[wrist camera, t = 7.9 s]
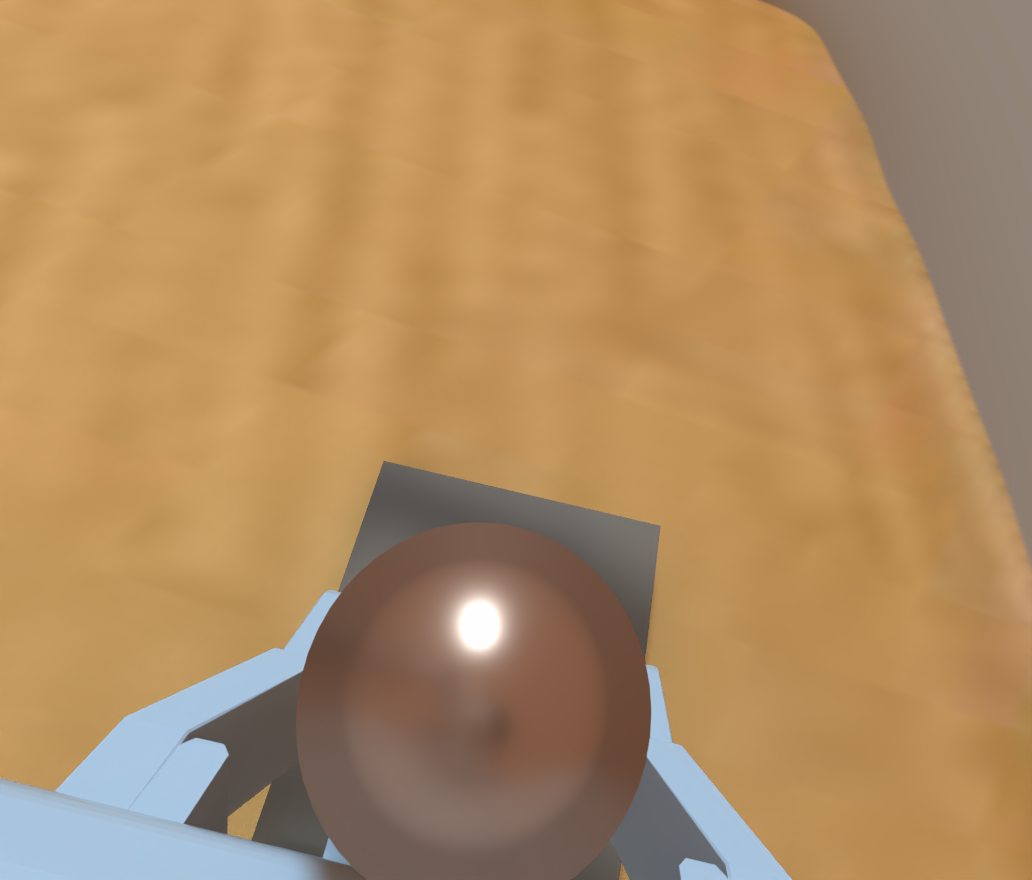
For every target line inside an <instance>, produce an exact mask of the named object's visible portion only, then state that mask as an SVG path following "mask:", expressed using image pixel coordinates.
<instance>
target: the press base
mask: <svg viewBox="0 0 1032 880" xmlns="http://www.w3.org/2000/svg"><path fill="white" fill-rule="evenodd" d="M473 522H481V523H498V524H504V525H510V526H516V527H519V528H522V529H526V530H529V531H532V532H536V533H538V534H540V535H542V536H544V537H547V538H549V539H551V540H553V541H555V542H557V543H558V544H560V545H562V546H563V547H565V548H567V549H568V550H570V551H572V552H573V553H574V554H575V555H577V556H578V557H579V558H580V559H582V560H583V561H584V562H585V563H587V564H588V565H589V566H590V567H591V568H592V569H593V570H594V571H595V572H596V573H597V574H598V575H599V576H600V577H601V578H602V579H603V580H604V581H605V583H606V584H607V585H608V587H609V588H610V589H611V591H612V592H613V593H614V594H615V596H616V597H617V598H618V600H619V602H620V604H621V605H622V607H623V609H624V610H625V612H626V614H627V615H628V617H629V619H630V621H631V624H632V626H633V628H634V630H635V633H636V635H637V637H638V640H639V643H640V646H641V649H642V653H643V656H644V659H645V653H646V644H647V636H648V627H649V619H650V610H651V602H652V593H653V585H654V576H655V568H656V559H657V551H658V542H659V534H660V526H658V525H654V524H650V523H646V522H641V521H637V520H633V519H629V518H624V517H620V516H616V515H612V514H607V513H603V512H599V511H595V510H590V509H586V508H582V507H577V506H573V505H569V504H565V503H560V502H556V501H552V500H548V499H543V498H539V497H535V496H531V495H526V494H522V493H518V492H514V491H509V490H505V489H501V488H496V487H492V486H488V485H484V484H479V483H475V482H471V481H467V480H462V479H458V478H454V477H450V476H445V475H441V474H437V473H433V472H428V471H424V470H420V469H415V468H411V467H407V466H403V465H398V464H394V463H390V462H386V461H384V462H383V465H382V468H381V470H380V473H379V476H378V479H377V482H376V485H375V488H374V491H373V493H372V496H371V499H370V502H369V505H368V508H367V511H366V513H365V516H364V519H363V522H362V525H361V528H360V531H359V534H358V536H357V539H356V542H355V545H354V548H353V551H352V554H351V557H350V559H349V562H348V565H347V568H346V571H345V574H344V577H343V579H342V582H341V585H340V588H339V591H338V592H342V591H343V589H344V588H345V587H346V586H347V585H348V584H349V583H350V582H351V581H352V580H353V579H354V577H355V576H356V575H357V574H358V573H359V572H360V571H361V570H362V569H364V568H365V567H366V566H367V565H368V564H370V563H371V562H372V561H373V560H374V559H375V558H377V557H378V556H380V555H381V554H383V553H384V552H386V551H387V550H389V549H390V548H392V547H393V546H395V545H397V544H399V543H401V542H403V541H405V540H407V539H409V538H411V537H413V536H415V535H417V534H420V533H423V532H426V531H429V530H432V529H435V528H439V527H444V526H448V525H453V524H461V523H473ZM328 838H329V837H328V836H327V834H326V833H325V831H324V829H323V827H322V825H321V823H320V822H319V820H318V818H317V816H316V814H315V812H314V810H313V808H312V805H311V802H310V799H309V797H308V794H307V791H306V788H305V785H304V782H303V778H302V773H301V768H300V763H299V761H298V762H297V763H296V764H294V765H293V766H292V767H291V768H289V769H288V770H287V771H285V772H284V773H283V774H282V775H280V776H279V777H278V778H277V779H275V780H274V781H273V782H272V783H271V786H270V789H269V792H268V795H267V797H266V800H265V803H264V806H263V809H262V812H261V815H260V818H259V820H258V823H257V826H256V829H255V832H254V835H253V838H252V841H255V842H259V843H263V844H267V845H268V844H272V845H276V846H279V847H283V848H287V849H291V850H295V851H299V852H303V853H307V854H311V855H314V856H318V857H322V858H323V855H324V851H325V848H326V845H327V841H328ZM620 866H621V860H620V858H619V856H618V854H617V852H616V850H615V848H614V846H613V844H612V842H611V840H609V842H608V843H607V844H606V845H605V847H604V848H603V849H602V851H601V852H600V853H599V854H598V856H597V857H596V858H595V859H594V860H592V861H591V862H590V863H589V864H588V865H587V866H586V867H585V868H584V869H583V870H582V871H581V872H580V873H579V874H578V875H577V876H575V877H574V878H572V879H571V880H619V874H620Z"/></svg>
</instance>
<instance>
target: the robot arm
mask: <svg viewBox="0 0 1032 880" xmlns="http://www.w3.org/2000/svg"><path fill="white" fill-rule="evenodd" d="M340 594H341V592H338V591H334V590H330V589H329V590H328V591H326V592H325V593H323V594H322V596H321V597H320V599H319V600H318V601H317V603H316V604H315V606H314V607H313V608H312V610H311V611H310V613H309V614H308V615H307V617H306V618H305V620H304V621H303V622H302V624H301V625H300V626H299V628H298V629H297V631H296V632H295V633H294V635H293V636H292V638H291V639H290V640H289V642H288V643H287V645H286V646H285V647H284V649H283V650H282V649H278V648H273V649H271V650H269V651H267V652H265V653H262V654H260V655H258V656H256V657H254V658H252V659H249V660H247V661H245V662H243V663H241V664H239V665H236V666H234V667H232V668H230V669H228V670H226V671H223V672H221V673H219V674H217V675H215V676H213V677H210V678H208V679H206V680H204V681H202V682H200V683H197V684H195V685H193V686H191V687H189V688H187V689H184V690H182V691H180V692H178V693H176V694H174V695H171V696H169V697H167V698H165V699H163V700H161V701H158V702H156V703H154V704H152V705H150V706H148V707H145V708H143V709H141V710H139V711H137V712H135V713H132V714H130V715H128V716H126V717H125V718H124V719H123V720H122V721H121V722H120V723H119V724H118V725H117V726H116V727H115V728H114V729H113V730H112V731H111V732H110V733H109V734H108V736H107V737H106V738H105V739H104V740H103V741H102V742H101V743H100V744H99V745H98V746H97V747H96V748H95V749H94V750H93V751H92V752H91V753H90V755H89V756H88V757H87V758H86V759H85V760H84V761H83V762H82V763H81V764H80V765H79V766H78V767H77V768H76V769H75V770H74V771H73V772H72V774H71V775H70V776H69V777H68V778H67V779H66V780H65V781H64V782H63V783H62V784H61V785H60V786H59V787H58V788H57V789H56V790H55V791H51V790H47V789H43V788H39V787H35V786H31V785H27V784H23V783H19V782H15V781H11V780H7V779H3V778H0V880H367V879H366V878H365V877H363V876H362V875H361V874H359V873H358V872H357V871H356V870H355V869H354V868H353V867H352V866H351V865H347V864H343V863H339V862H335V861H331V860H327V859H323V858H319V857H315V856H311V855H307V854H303V853H299V852H295V851H291V850H287V849H283V848H279V847H275V846H271V845H267V844H263V843H259V842H255V841H251V840H247V839H243V838H239V837H235V836H231V835H227V817H228V816H229V815H230V814H232V813H233V812H234V811H236V810H237V809H238V808H239V807H241V806H242V805H243V804H245V803H246V802H247V801H248V800H250V799H251V798H252V797H253V796H255V795H256V794H257V793H259V792H260V791H261V790H262V789H264V788H265V787H266V786H268V785H269V784H270V783H271V782H273V781H274V780H275V779H277V778H278V777H279V776H280V775H282V774H283V773H284V772H285V771H287V770H288V769H289V768H291V767H292V766H293V765H294V764H296V763H297V762H298V761H299V758H298V751H297V738H296V712H297V699H298V693H299V687H300V681H301V675H302V672H303V669H304V665H305V662H306V658H307V655H308V652H309V649H310V647H311V644H312V642H313V640H314V637H315V635H316V633H317V630H318V628H319V626H320V625H321V623H322V621H323V619H324V618H325V616H326V614H327V612H328V611H329V609H330V607H331V606H332V604H333V603H334V602H335V600H336V599H337V598H338V596H339V595H340ZM646 668H647V674H648V679H649V684H650V697H651V730H650V740H649V746H648V752H647V758H646V763H645V766H644V770H643V773H642V777H641V780H640V783H639V787H638V789H637V791H636V794H635V796H634V798H633V801H632V803H631V805H630V808H629V810H628V812H627V814H626V815H625V817H624V819H623V820H622V822H621V824H620V825H619V827H618V829H617V831H616V832H615V834H614V835H613V837H612V838H611V839H610V840H611V842H612V844H613V846H614V848H615V850H616V852H617V854H618V856H619V858H620V860H621V862H622V864H623V866H624V868H625V870H626V873H627V875H628V877H629V879H630V880H792V879H791V878H790V877H789V875H788V874H787V873H786V872H785V870H784V869H783V868H782V867H781V866H780V864H779V863H778V862H777V861H776V860H775V858H774V857H773V856H772V855H771V854H770V852H769V851H768V850H767V849H766V847H765V846H764V845H763V844H762V843H761V841H760V840H759V839H758V838H757V837H756V835H755V834H754V833H753V832H752V830H751V829H750V828H749V827H748V826H747V824H746V823H745V822H744V821H743V820H742V818H741V817H740V816H739V815H738V813H737V812H736V811H735V810H734V809H733V807H732V806H731V805H730V804H729V803H728V801H727V800H726V799H725V798H724V796H723V795H722V794H721V793H720V792H719V790H718V789H717V788H716V787H715V786H714V784H713V783H712V782H711V781H710V779H709V778H708V777H707V776H706V775H705V773H704V772H703V771H702V770H701V769H700V767H699V766H698V765H697V764H696V762H695V761H694V760H693V759H692V758H691V756H690V755H689V754H688V753H687V752H686V750H685V749H684V748H683V747H682V746H681V745H678V744H674V743H673V741H672V736H671V731H670V726H669V721H668V715H667V710H666V705H665V700H664V695H663V690H662V685H661V680H660V674H659V670H658V669H657V668H656V666H652V665H647V664H646Z"/></svg>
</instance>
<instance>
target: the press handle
mask: <svg viewBox="0 0 1032 880" xmlns="http://www.w3.org/2000/svg"><path fill="white" fill-rule="evenodd" d="M650 730H651V697H650V684H649V679H648V674H647V668H646V663H645V659H644V656H643V653H642V649H641V646H640V643H639V640H638V637H637V635H636V633H635V630H634V628H633V626H632V624H631V621H630V619H629V617H628V615H627V614H626V612H625V610H624V609H623V607H622V605H621V604H620V602H619V600H618V598H617V597H616V596H615V594H614V593H613V592H612V591H611V589H610V588H609V587H608V585H607V584H606V583H605V581H604V580H603V579H602V578H601V577H600V576H599V575H598V574H597V573H596V572H595V571H594V570H593V569H592V568H591V567H590V566H589V565H588V564H587V563H585V562H584V561H583V560H582V559H580V558H579V557H578V556H577V555H575V554H574V553H573V552H572V551H570V550H568V549H567V548H565V547H563V546H562V545H560V544H558V543H557V542H555V541H553V540H551V539H549V538H547V537H544V536H542V535H540V534H538V533H536V532H532V531H529V530H526V529H522V528H519V527H516V526H510V525H504V524H498V523H481V522H473V523H461V524H453V525H448V526H444V527H439V528H435V529H432V530H429V531H426V532H423V533H420V534H417V535H415V536H413V537H411V538H409V539H407V540H405V541H403V542H401V543H399V544H397V545H395V546H393V547H392V548H390V549H389V550H387V551H386V552H384V553H383V554H381V555H380V556H378V557H377V558H375V559H374V560H373V561H372V562H371V563H370V564H368V565H367V566H366V567H365V568H364V569H362V570H361V571H360V572H359V573H358V574H357V575H356V576H355V577H354V579H353V580H352V581H351V582H350V583H349V584H348V585H347V586H346V587H345V588H344V589H343V591H342V592H341V594H340V595H339V596H338V598H337V599H336V600H335V602H334V603H333V604H332V606H331V607H330V609H329V611H328V612H327V614H326V616H325V618H324V619H323V621H322V623H321V625H320V626H319V628H318V630H317V633H316V635H315V637H314V640H313V642H312V644H311V647H310V649H309V652H308V655H307V658H306V662H305V665H304V669H303V672H302V675H301V681H300V687H299V693H298V699H297V712H296V738H297V751H298V758H299V763H300V768H301V773H302V778H303V782H304V785H305V788H306V791H307V794H308V797H309V799H310V802H311V805H312V808H313V810H314V812H315V814H316V816H317V818H318V820H319V822H320V823H321V825H322V827H323V829H324V831H325V833H326V834H327V836H328V837H329V838H328V841H327V845H326V848H325V851H324V855H323V859H327V860H331V861H335V862H339V863H343V864H347V865H351V866H352V867H353V868H354V869H355V870H356V871H357V872H358V873H359V874H361V875H362V876H363V877H365V878H366V879H367V880H571V879H572V878H574V877H575V876H577V875H578V874H579V873H580V872H581V871H582V870H583V869H584V868H585V867H586V866H587V865H588V864H589V863H590V862H591V861H592V860H594V859H595V858H596V857H597V856H598V854H599V853H600V852H601V851H602V849H603V848H604V847H605V845H606V844H607V843H608V842H609V840H610V839H611V838H612V837H613V835H614V834H615V832H616V831H617V829H618V827H619V825H620V824H621V822H622V820H623V819H624V817H625V815H626V814H627V812H628V810H629V808H630V805H631V803H632V801H633V798H634V796H635V794H636V791H637V789H638V787H639V783H640V780H641V777H642V773H643V770H644V766H645V763H646V758H647V752H648V746H649V740H650ZM268 845H271V846H275V847H279V846H276V845H272V844H268ZM279 848H283V847H279ZM283 849H287V848H283ZM287 850H291V849H287ZM291 851H295V850H291ZM295 852H299V851H295ZM299 853H303V852H299ZM303 854H307V853H303ZM307 855H311V854H307ZM311 856H314V855H311ZM315 857H318V856H315ZM319 858H322V857H319Z"/></svg>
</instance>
